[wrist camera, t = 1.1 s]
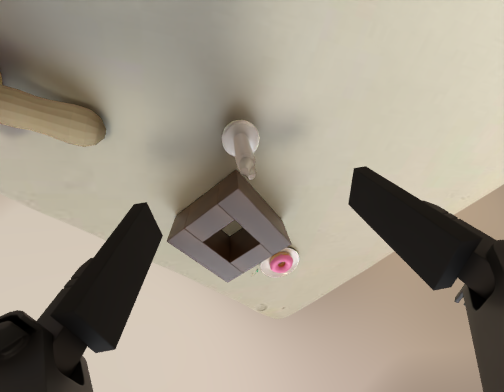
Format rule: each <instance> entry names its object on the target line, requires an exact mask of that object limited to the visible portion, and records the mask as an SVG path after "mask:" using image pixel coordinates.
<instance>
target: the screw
mask: <svg viewBox="0 0 504 392" xmlns="http://www.w3.org/2000/svg"><path fill="white" fill-rule="evenodd" d="M222 144H223V147H224V149H225V150H226V151H227V152H228V153H229V154H230V155H232V156H234V157H235V159H236V165H237V167H238V169H239V170H240V174H241V175H245V176H246V177H247V178H248V179H250V180H252V179H253V178H254V177H255V176H256V170H255V167H254V166H255V157H254V154H253V153H254V152H255V151H256V149H257V147H258V145H259V133H258V130H257V129H256V127H255V126H254V125H253V124H252V123H251V122H249V121H246V120H241V119H239V120H235V121H232V122H230V123H229V124H228V125H227V126H226V127H225V129H224V131H223V134H222Z"/></svg>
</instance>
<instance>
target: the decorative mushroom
mask: <svg viewBox="0 0 504 392" xmlns="http://www.w3.org/2000/svg"><path fill="white" fill-rule="evenodd" d="M0 124H4V125H8V126H11V127H15V128H21V129H27V130H32V131H35V132H38V133H42V134H45V135H48V136H51V137H53V138H56V139H59V140H61V141H64V142H67V143H69V144H74V145H78V146H83V147H86V146H92V145H96V144H97V143H99V142H100V141H101V140H103V139H104V138H105V134H106V128H105V126H104V124H103V121H102V119H101V118H100V117H99V116H98V115H97V114H95V113H94V112H93V111H92V110H90V109H87V108H84V107H81V106H78V105H75V104H69V103H64V102H59V101H53V100H48V99H45V98H41V97H37V96H34V95H31V94H29V93H26V92H23V91H21V90H18V89H14V88H11V87H7V86H3V85H2V76H1V72H0Z"/></svg>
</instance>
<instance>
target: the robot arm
mask: <svg viewBox="0 0 504 392" xmlns="http://www.w3.org/2000/svg"><path fill="white" fill-rule="evenodd" d="M349 205H350V206H351V207H352V208H353V209H354V210H355V211H356V212H357V213H358V214H359V215H360V217H361V218H362V219H363V220H364V221H365V222H366V223H367V224H368V225H369V226H370V227H371V228H372V229H373V230H374V231H375V232H376V233H377V234H378V235H379V236H380V237H381V238H382V239H383V240H384V241H385V242H386V243H387V244H388V245H389V246H390V247H391V248H392V249H393V250H394V251H395V252H396V253H397V254H398V255H399V256H400V257H401V258H402V259H403V260H404V261H405V262H406V263H407V264H408V265H409V266H410V267H411V268H412V269H413V270H414V271H415V272H416V273H417V274H418V275H419V276H420V277H421V278H422V279H423V280H424V281H425V282H426V283H427V284H428V285H429V286H430V287H431V288H432V289H433V290H438V289H444V288H449V287H451V286H452V285H453V283H454V282H455V280H456V279H457V277H458V278H459V279H460V280H461V281H462V282H464V283H465V284H464V286H463V287H462V289H461V290H460V292H459V293H458V294H457V296H456V297H455V302H457V303H459V301H460V300H461V299H462V298H463V297H464V301H465V303H464V305H465V306H466V310H467V315H468V320H469V325H470V330H471V334H472V339H473V344H474V349H475V354H476V359H477V363H478V368H479V373H480V378H481V383H482V387H483V392H504V240H495V239H493V238H491V237H490V236H488V235H486V234H485V233H483V232H481V231H480V230H478V229H476V228H474V227H472V226H471V225H469V224H468V223H466V222H464V221H463V220H461V219H457V217H456V216H454V215H452V214H451V213H448V212H447V211H446V210H444V209H442V208H441V207H439V206H437V205H434V204H432V203H429V202H426V201H421V200H420V199H418V198H416V197H415V196H413V195H412V194H410V193H408V192H407V191H405V190H403V189H402V188H400V187H399V186H397V185H395V184H394V183H392V182H390V181H389V180H387V179H385V178H384V177H382V176H381V175H379V174H377V173H376V172H374V171H372V170H371V169H369V168H367V167H366V166H365V167H359V168H354V172H353V178H352V185H351V191H350V198H349ZM162 236H163V235H162V233H161V231H160V229H159V227H158V225H157V223H156V221H155V219H154V217H153V215H152V213H151V210H150V208H149V206H148V204H147V202H146V203H140V204H134V205H133V206H132V208H131V209H130V210H129V212H128V213H127V214H126V216H125V217H124V218H123V220H122V221H121V222H120V224H119V225H118V226H117V228H116V229H115V230H114V231H113V233H112V234H111V235H110V237H109V238H108V239H107V241H106V242H105V243H104V245H103V246H102V247H101V249H100V250H99V251H98V253H97V254H96V255H95V257H94V258H90V259H89V260H88V261H87V262H85V263H84V264H83V265H82V266H81V267H80V268H79V269H78V270H77V271H76V272H75V274H74V275H73V276H72V277H71V280H69V281H68V282H67V284H66V285H65V286H64V289H62V290H61V291H60V293H59V294H58V295H57V296H56V298H55V299H54V300H53V301H52V303H51V304H50V305H49V306H48V308H47V309H46V310H45V311H44V313H43V314H42V315H41V316H40V318H39V319H38V320H37V321H35V320H34V319H33V318H31V317H30V316H28V315H27V314H26V313H25V312H23V311H18V310H17V311H13V312H9V313H7V314H5V315H3V316H0V392H93V389H92V384H91V380H90V375H89V371H88V366H87V362H86V360H85V358H84V357H83V356H82V355H83V353H84V351H85V349H86V348H87V346H88V347H89V348H90V349H91V350H93V351H94V352H95V353H98V352H103V351H109V350H114V349H116V346H117V344H118V341H119V339H120V337H121V334H122V332H123V329H124V327H125V325H126V322H127V320H128V318H129V315H130V313H131V310H132V308H133V306H134V303H135V301H136V298H137V296H138V294H139V291H140V289H141V286H142V284H143V282H144V279H145V277H146V274H147V272H148V270H149V267H150V265H151V263H152V260H153V258H154V255H155V253H156V251H157V248H158V246H159V243H160V241H161V239H162Z"/></svg>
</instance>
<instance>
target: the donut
mask: <svg viewBox="0 0 504 392" xmlns="http://www.w3.org/2000/svg"><path fill="white" fill-rule="evenodd" d="M298 263H299V255H298V253H297V252H296V251H295V250H294V249H291V248H284V249H283V250H281V251H279V252H278V253H276V254H274V255H273V256H271V257H269V258H268V259H266V260H264V261H263V262H261V265H260V268H261V271H262V272H263V274H265V275H266V276H268V277H281V276H284V275H287V274H289V273H290V272H292V271H293V270H294V269H295V268H296V266H297V265H298ZM257 272H258V270H257ZM255 274H256V273H255ZM255 274H253V275H255ZM251 276H252V275H251Z"/></svg>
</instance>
